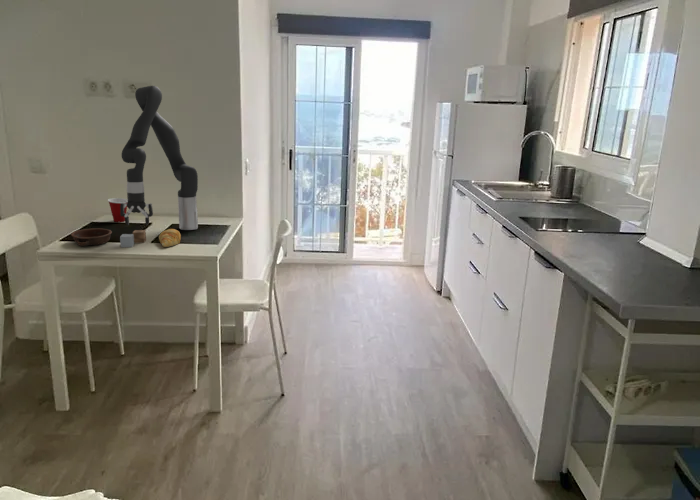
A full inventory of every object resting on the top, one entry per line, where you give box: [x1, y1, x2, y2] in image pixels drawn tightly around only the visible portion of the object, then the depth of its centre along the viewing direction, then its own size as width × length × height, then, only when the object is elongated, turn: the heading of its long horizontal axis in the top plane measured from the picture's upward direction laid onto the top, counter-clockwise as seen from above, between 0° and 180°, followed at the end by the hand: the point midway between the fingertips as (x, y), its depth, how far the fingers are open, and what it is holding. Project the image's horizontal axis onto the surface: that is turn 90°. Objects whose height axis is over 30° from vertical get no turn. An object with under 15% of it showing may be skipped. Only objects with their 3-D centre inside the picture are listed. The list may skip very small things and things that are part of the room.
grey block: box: [119, 233, 135, 248], centre depth 258 cm, size 5×5×5 cm
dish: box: [70, 227, 113, 247], centre depth 261 cm, size 18×22×5 cm
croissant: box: [158, 228, 182, 248], centre depth 265 cm, size 21×10×8 cm, turn 4°
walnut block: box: [132, 229, 147, 244], centre depth 266 cm, size 5×5×5 cm
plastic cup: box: [107, 197, 128, 223], centre depth 303 cm, size 11×11×12 cm
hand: (137, 224), depth 264 cm, fingers open, 8 cm apart
